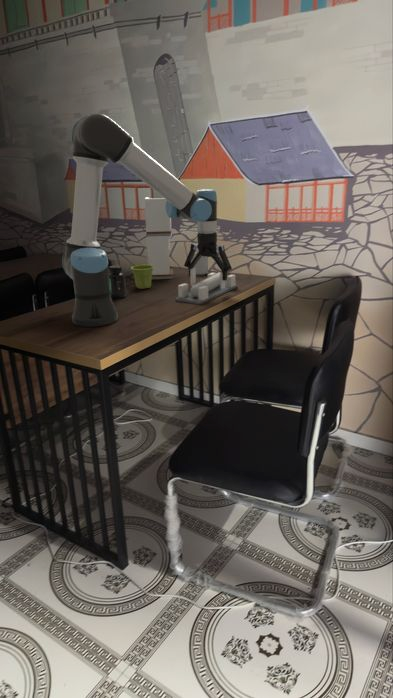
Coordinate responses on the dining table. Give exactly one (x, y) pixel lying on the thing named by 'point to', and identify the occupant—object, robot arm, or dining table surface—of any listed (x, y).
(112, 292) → the supplement bottle
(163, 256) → the brown-trimmed grey box
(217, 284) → the tube
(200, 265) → the can
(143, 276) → the plant pot
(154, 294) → the dining table surface
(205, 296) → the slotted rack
